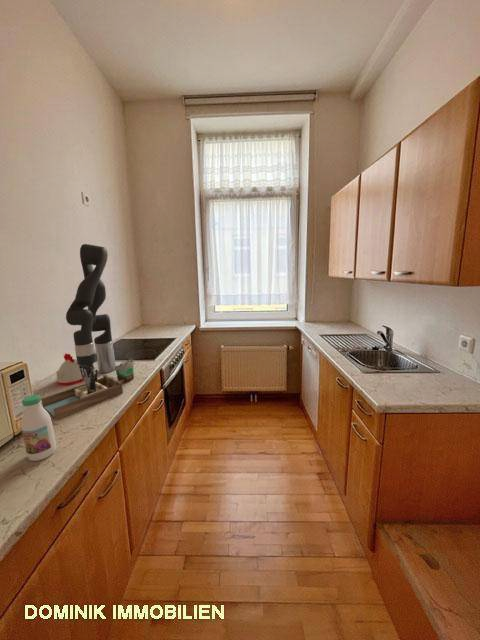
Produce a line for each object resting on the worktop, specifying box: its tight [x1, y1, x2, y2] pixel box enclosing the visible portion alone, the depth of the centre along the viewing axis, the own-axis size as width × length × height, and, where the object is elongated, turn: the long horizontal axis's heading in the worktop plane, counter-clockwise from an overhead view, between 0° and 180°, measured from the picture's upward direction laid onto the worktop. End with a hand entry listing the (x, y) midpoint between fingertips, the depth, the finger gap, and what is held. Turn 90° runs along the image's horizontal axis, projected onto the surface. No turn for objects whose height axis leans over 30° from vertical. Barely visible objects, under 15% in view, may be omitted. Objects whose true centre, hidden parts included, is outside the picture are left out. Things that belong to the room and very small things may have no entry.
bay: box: [41, 374, 124, 421], centre depth 122 cm, size 16×28×6 cm, turn 142°
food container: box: [114, 357, 135, 384], centre depth 142 cm, size 12×6×10 cm, turn 168°
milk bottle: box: [21, 394, 57, 462], centre depth 85 cm, size 8×8×20 cm
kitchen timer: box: [56, 352, 85, 387], centre depth 144 cm, size 14×14×15 cm
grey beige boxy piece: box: [74, 375, 108, 399], centre depth 124 cm, size 12×10×9 cm
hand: (91, 387), depth 124 cm, fingers closed on grey beige boxy piece, 3 cm apart
